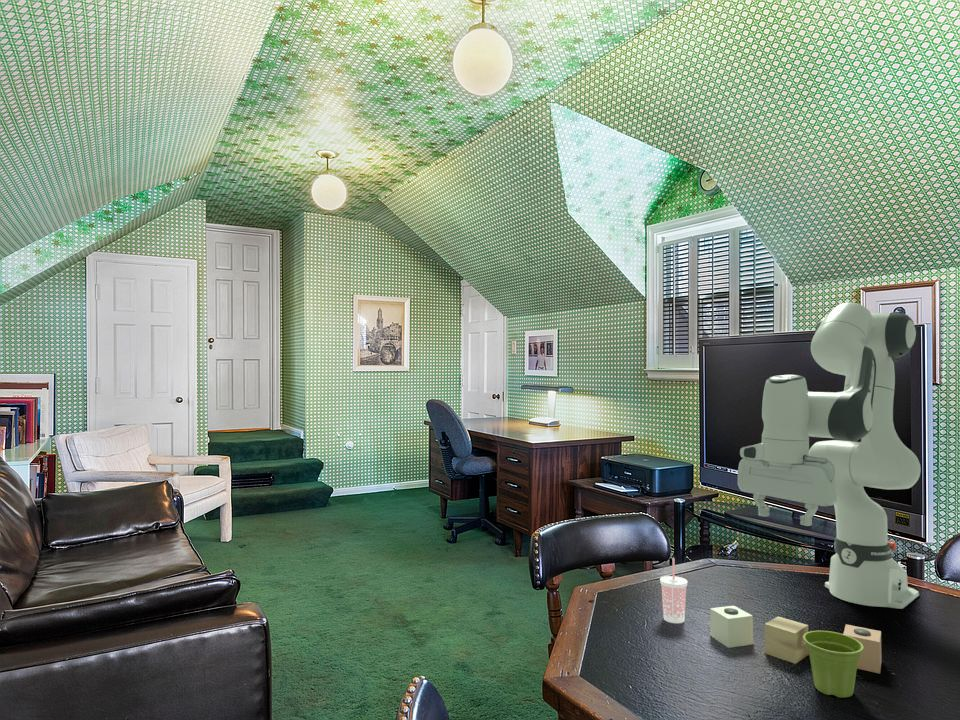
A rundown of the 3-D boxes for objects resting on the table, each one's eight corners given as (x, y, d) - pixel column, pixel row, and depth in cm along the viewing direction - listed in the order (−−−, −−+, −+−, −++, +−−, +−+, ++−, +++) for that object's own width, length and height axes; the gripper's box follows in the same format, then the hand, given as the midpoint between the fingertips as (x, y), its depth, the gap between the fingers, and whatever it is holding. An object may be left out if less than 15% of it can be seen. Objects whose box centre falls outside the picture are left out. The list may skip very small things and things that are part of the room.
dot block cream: (734, 633, 137) (734, 604, 137) (753, 644, 131) (752, 614, 131) (710, 636, 135) (710, 606, 135) (728, 648, 129) (728, 617, 130)
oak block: (778, 645, 131) (778, 616, 131) (808, 655, 126) (808, 625, 126) (764, 653, 127) (764, 623, 127) (795, 664, 122) (795, 633, 122)
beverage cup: (689, 616, 146) (689, 556, 146) (686, 626, 140) (685, 563, 140) (662, 612, 148) (661, 553, 149) (658, 621, 143) (657, 560, 143)
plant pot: (834, 707, 106) (833, 655, 107) (791, 681, 115) (791, 633, 116) (877, 699, 109) (876, 648, 109) (832, 674, 118) (832, 627, 118)
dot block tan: (846, 654, 127) (845, 622, 127) (881, 662, 123) (881, 629, 123) (843, 665, 122) (843, 633, 122) (880, 674, 118) (879, 640, 118)
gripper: (844, 458, 122) (843, 529, 122) (752, 447, 140) (751, 510, 139) (824, 459, 119) (824, 533, 119) (733, 448, 137) (732, 512, 136)
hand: (784, 520), depth 129 cm, fingers open, 8 cm apart
